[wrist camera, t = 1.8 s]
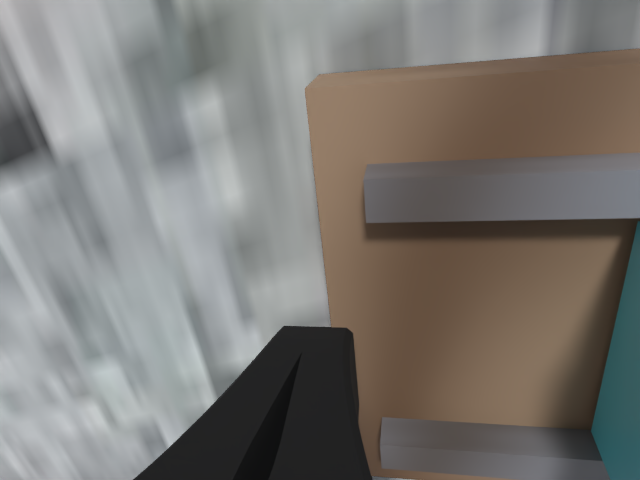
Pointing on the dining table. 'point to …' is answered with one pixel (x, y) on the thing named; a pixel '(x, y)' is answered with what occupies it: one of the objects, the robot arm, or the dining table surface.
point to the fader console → (479, 255)
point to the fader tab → (622, 383)
